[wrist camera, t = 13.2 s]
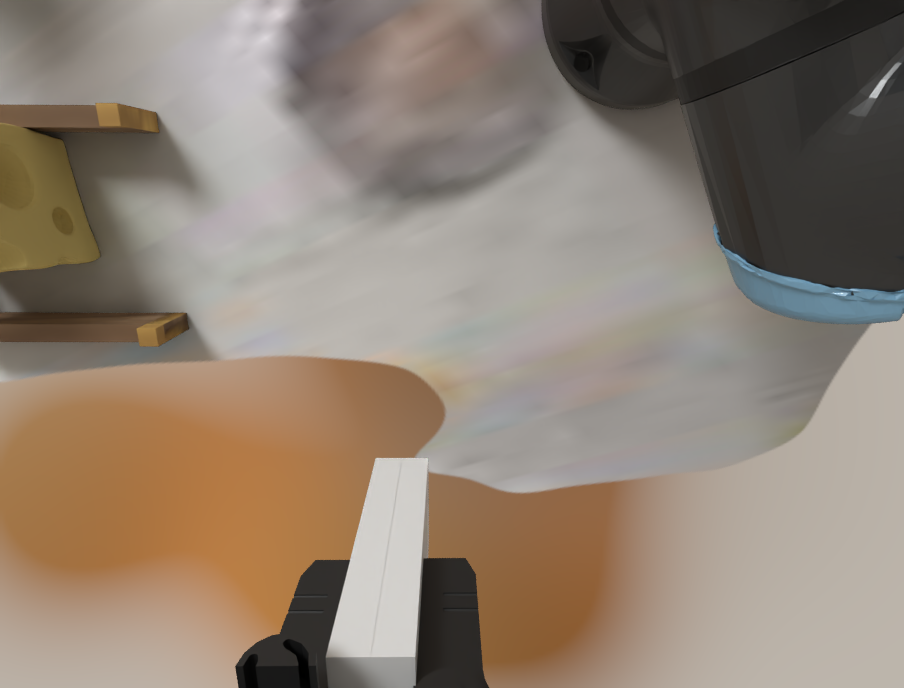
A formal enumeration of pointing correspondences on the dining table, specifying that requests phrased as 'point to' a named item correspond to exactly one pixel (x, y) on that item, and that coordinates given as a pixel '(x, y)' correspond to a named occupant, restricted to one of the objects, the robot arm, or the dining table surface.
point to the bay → (87, 325)
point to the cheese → (39, 204)
